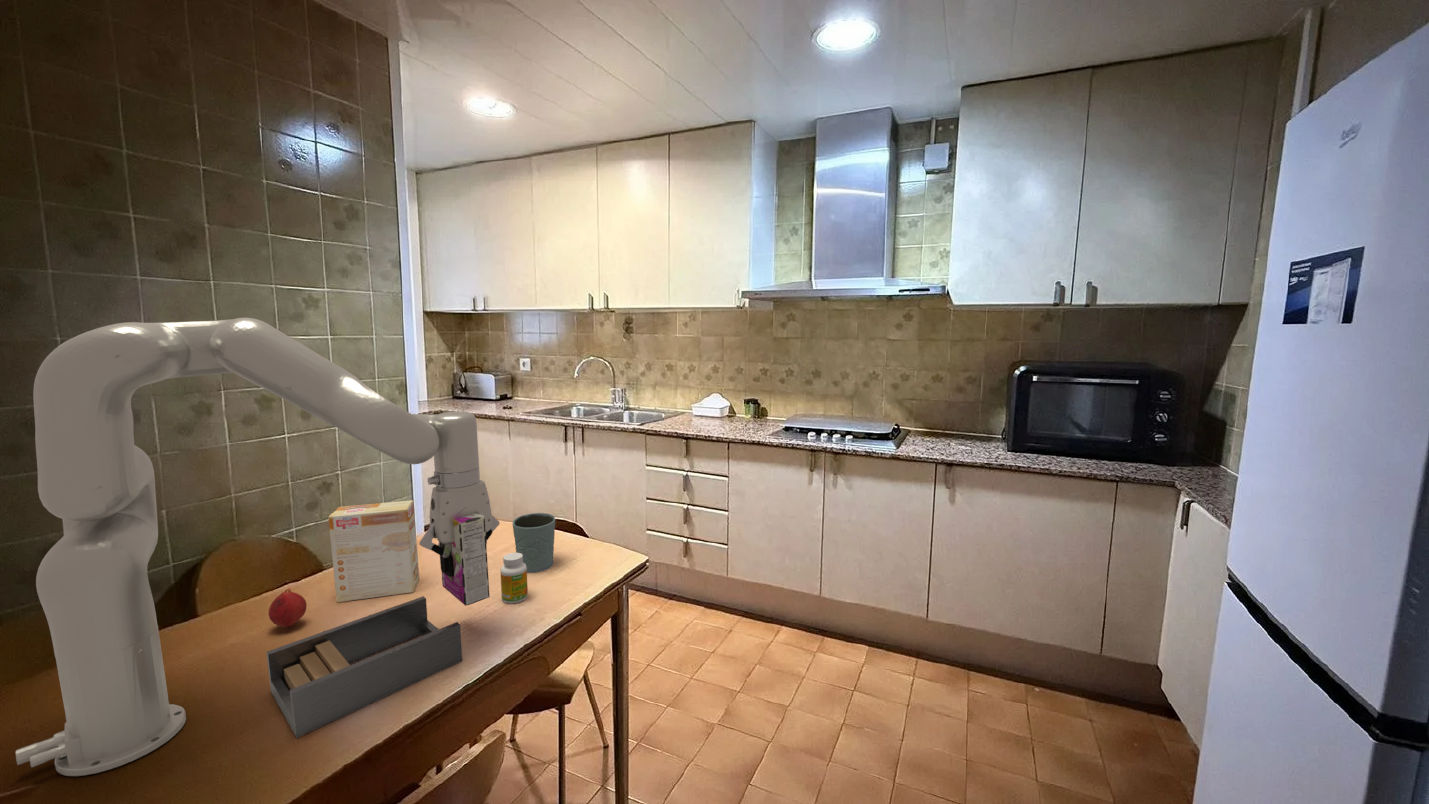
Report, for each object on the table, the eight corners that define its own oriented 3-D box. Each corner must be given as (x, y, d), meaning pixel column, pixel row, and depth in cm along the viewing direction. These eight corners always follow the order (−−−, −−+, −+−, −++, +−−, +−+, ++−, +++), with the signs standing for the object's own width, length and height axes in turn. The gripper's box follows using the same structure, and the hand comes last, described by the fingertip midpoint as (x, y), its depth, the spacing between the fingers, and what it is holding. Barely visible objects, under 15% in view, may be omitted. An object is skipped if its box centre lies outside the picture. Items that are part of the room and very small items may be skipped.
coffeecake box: (420, 579, 127) (414, 499, 124) (413, 593, 120) (407, 509, 118) (346, 588, 122) (338, 505, 120) (335, 603, 116) (327, 516, 113)
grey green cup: (540, 553, 142) (538, 510, 140) (565, 564, 136) (564, 518, 134) (505, 567, 133) (503, 521, 132) (531, 578, 128) (529, 530, 126)
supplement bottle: (512, 606, 115) (510, 563, 114) (496, 600, 118) (494, 557, 116) (533, 596, 119) (531, 554, 118) (517, 590, 122) (515, 549, 121)
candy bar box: (440, 587, 106) (435, 507, 104) (466, 579, 110) (461, 501, 108) (464, 607, 99) (458, 521, 97) (490, 598, 102) (486, 515, 100)
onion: (287, 636, 103) (283, 597, 102) (262, 633, 104) (258, 594, 103) (315, 620, 109) (311, 583, 108) (291, 617, 110) (287, 580, 109)
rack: (296, 738, 78) (291, 693, 77) (270, 691, 88) (266, 651, 87) (462, 660, 96) (460, 624, 95) (425, 629, 106) (423, 596, 105)
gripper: (418, 492, 92) (425, 592, 95) (510, 472, 105) (515, 560, 108) (400, 484, 97) (408, 579, 100) (491, 465, 110) (496, 550, 113)
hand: (463, 568), depth 104 cm, fingers closed on candy bar box, 5 cm apart
